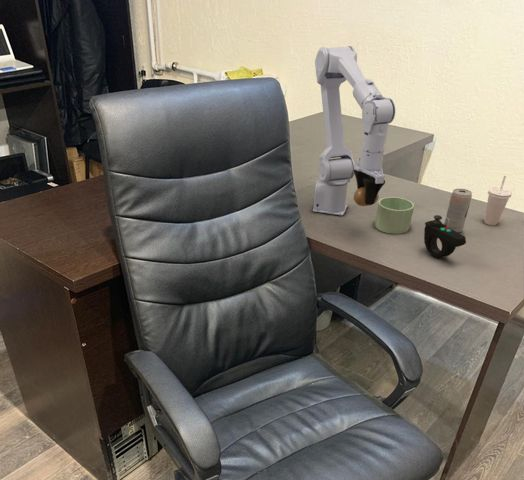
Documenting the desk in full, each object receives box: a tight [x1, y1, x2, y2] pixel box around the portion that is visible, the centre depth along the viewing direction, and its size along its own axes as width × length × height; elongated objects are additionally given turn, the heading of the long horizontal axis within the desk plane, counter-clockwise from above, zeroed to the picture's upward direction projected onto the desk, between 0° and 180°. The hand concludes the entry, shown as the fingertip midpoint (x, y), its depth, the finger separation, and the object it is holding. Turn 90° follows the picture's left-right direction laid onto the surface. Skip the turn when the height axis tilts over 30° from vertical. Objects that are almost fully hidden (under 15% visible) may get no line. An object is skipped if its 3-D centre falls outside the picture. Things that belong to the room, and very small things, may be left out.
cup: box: [374, 196, 415, 235], centre depth 152 cm, size 10×10×7 cm
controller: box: [423, 214, 467, 259], centre depth 137 cm, size 4×12×10 cm, turn 30°
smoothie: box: [484, 175, 513, 226], centre depth 153 cm, size 6×6×14 cm
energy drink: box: [443, 188, 473, 235], centre depth 148 cm, size 5×5×12 cm
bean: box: [353, 187, 379, 207], centre depth 144 cm, size 7×5×5 cm
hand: (365, 200), depth 145 cm, fingers closed on bean, 5 cm apart
